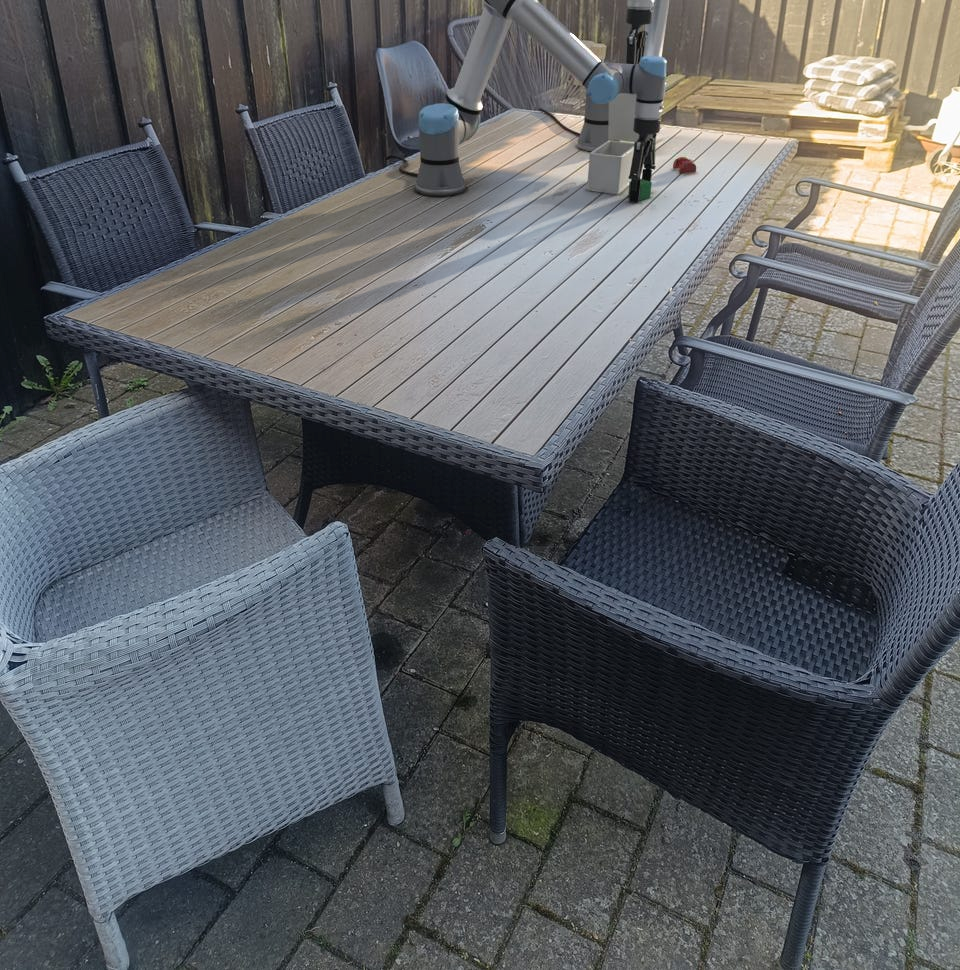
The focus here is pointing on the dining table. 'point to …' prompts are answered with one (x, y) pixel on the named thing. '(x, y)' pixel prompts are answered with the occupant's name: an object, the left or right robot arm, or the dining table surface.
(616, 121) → the lid
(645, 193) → the block
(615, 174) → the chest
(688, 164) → the dark red rounded lump
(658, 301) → the dining table surface
